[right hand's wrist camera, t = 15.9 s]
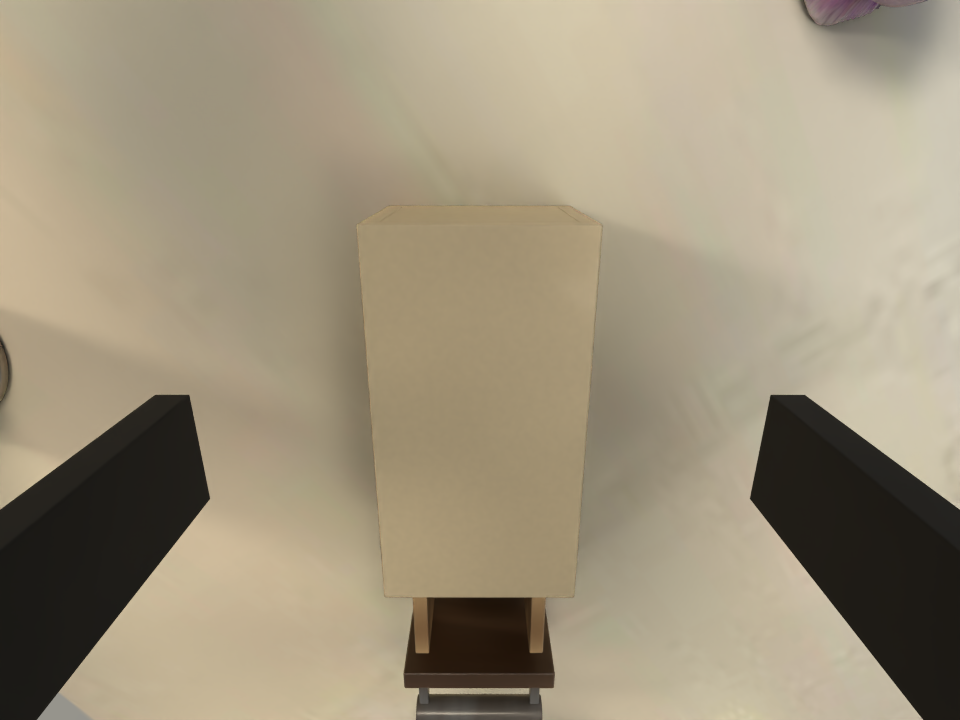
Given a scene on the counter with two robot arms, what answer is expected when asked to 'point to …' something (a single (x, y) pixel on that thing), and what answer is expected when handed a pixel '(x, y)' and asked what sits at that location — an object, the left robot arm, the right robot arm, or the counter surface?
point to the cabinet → (479, 394)
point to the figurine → (848, 8)
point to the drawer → (479, 656)
